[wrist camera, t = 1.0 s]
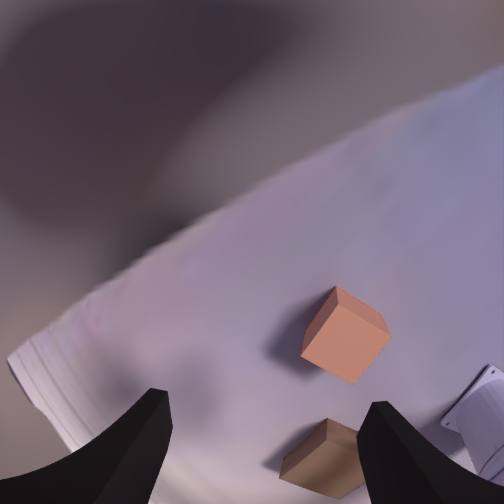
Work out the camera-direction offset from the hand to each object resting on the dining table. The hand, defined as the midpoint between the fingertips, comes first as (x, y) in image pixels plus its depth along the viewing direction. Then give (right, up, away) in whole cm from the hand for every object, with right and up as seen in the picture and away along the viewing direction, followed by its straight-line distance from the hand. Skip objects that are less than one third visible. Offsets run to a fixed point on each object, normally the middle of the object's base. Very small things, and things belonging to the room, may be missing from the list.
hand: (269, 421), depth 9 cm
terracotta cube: (+7, 0, +13) cm, 15 cm away
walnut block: (+8, -15, +16) cm, 23 cm away
